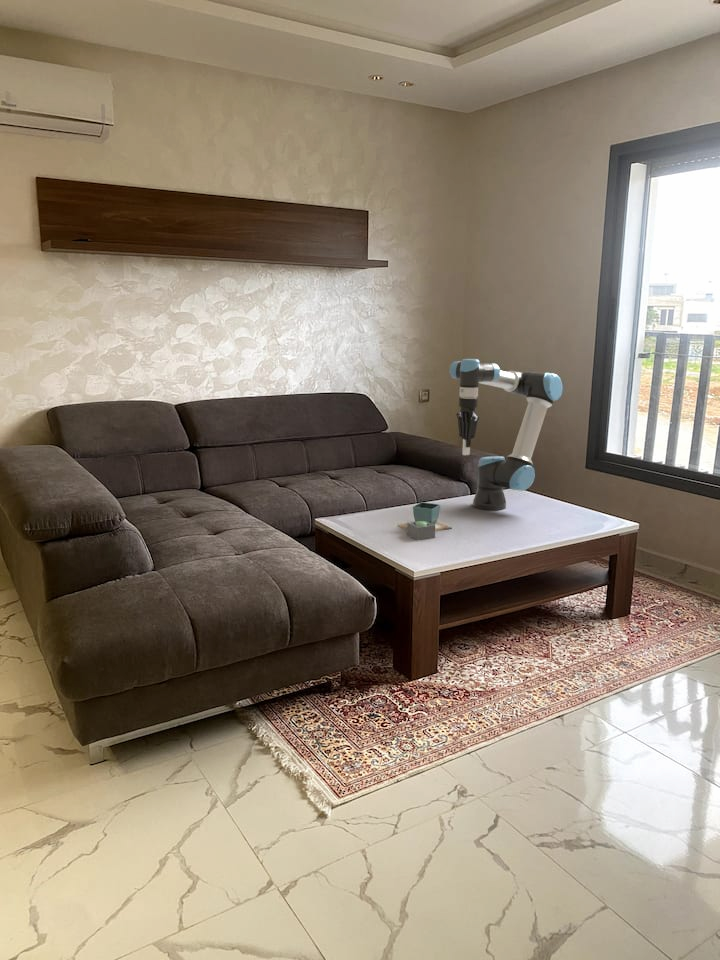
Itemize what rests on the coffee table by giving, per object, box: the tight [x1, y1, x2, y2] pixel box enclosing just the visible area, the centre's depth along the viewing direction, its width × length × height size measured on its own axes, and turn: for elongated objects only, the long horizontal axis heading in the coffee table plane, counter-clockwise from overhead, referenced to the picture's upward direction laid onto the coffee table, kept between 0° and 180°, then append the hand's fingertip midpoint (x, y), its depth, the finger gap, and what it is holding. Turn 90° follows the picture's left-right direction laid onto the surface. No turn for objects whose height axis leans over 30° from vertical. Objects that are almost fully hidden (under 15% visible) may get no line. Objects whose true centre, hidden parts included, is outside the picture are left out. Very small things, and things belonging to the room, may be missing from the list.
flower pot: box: [412, 502, 441, 525], centre depth 307 cm, size 9×9×9 cm
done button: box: [416, 521, 427, 526], centre depth 296 cm, size 4×4×5 cm
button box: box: [406, 521, 436, 541], centre depth 297 cm, size 8×8×5 cm
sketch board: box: [397, 520, 452, 532], centre depth 310 cm, size 18×13×1 cm
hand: (466, 454), depth 310 cm, fingers closed
